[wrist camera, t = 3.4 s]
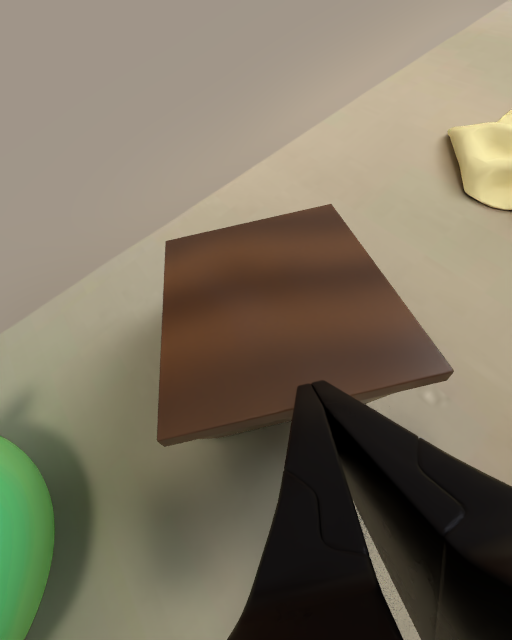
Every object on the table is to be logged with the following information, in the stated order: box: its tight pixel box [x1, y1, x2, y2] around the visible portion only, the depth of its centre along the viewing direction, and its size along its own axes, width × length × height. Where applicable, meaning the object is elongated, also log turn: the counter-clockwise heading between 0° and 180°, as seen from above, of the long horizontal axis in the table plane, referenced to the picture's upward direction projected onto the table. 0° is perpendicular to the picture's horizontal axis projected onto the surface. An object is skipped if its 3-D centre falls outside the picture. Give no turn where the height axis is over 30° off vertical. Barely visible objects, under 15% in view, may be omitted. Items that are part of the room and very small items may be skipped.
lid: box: [157, 204, 454, 447], centre depth 15 cm, size 13×12×1 cm
